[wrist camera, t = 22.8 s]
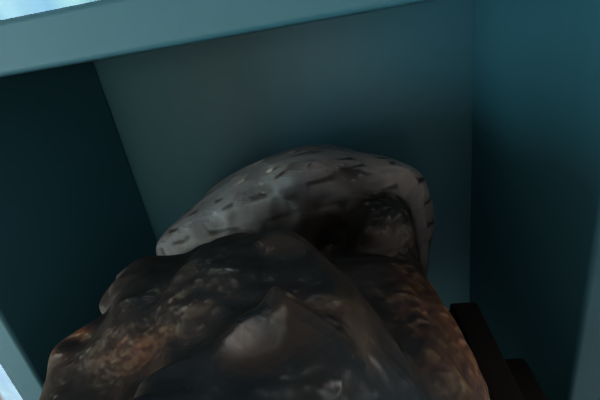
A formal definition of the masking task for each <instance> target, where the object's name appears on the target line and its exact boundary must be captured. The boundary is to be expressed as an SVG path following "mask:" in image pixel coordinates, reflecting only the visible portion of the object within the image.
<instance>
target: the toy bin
mask: <svg viewBox="0 0 600 400" xmlns="http://www.w3.org/2000/svg"><path fill="white" fill-rule="evenodd" d="M328 144H329V145H334V146H339V147H344V148H348V149H352V150H355V151H358V152H363V153H371V154H377V155H382V156H386V157H389V158H393V159H395V160H398V161H400V162H403V163H405V164H408V165H410V166H412V167H414V168H415V169H416V170H418V171H419V172H420V173H421V174H422V176H423V177H424V179H425V182H426V184H427V187H428V190H429V192H430V196H431V200H432V203H433V208H434V216H435V229H434V234H433V238H432V242H431V246H430V253H429V266H428V275H427V279H428V280H429V281H430V283H431V284H432V285H433V287H434V288H435V290H436V292H437V294H438V296H439V298H440V300H441V302H442V303H443V304H444V305H445V306H446V308H447V309H448V310H450V304H452V303H466V302H476V303H477V305H478V307H479V309H480V311H481V313H482V315H483V317H484V319H485V321H486V323H487V325H488V327H489V329H490V331H491V333H492V335H493V337H494V339H495V341H496V343H497V345H498V347H499V349H500V351H501V353H502V355H503V357H504V359H518V358H521V359H523V360H525V361H526V362H527V364H528V365H529V367H530V368H531V370H532V372H533V374H534V376H535V377H536V379H537V381H538V383H539V385H540V386H541V388H542V390H543V392H544V394H545V395H546V397H547V399H548V400H600V0H100V1H95V2H90V3H85V4H80V5H75V6H70V7H65V8H60V9H55V10H50V11H45V12H40V13H35V14H30V15H25V16H20V17H15V18H10V19H5V20H0V364H1V365H2V367H3V369H4V370H5V372H6V373H7V375H8V377H9V378H10V380H11V381H12V383H13V384H14V386H15V388H16V389H17V391H18V392H19V394H20V396H21V397H22V399H23V400H39V399H40V396H41V393H42V390H43V386H44V383H45V380H46V376H47V366H48V360H49V357H50V354H51V352H52V350H53V349H54V347H55V346H56V345H57V344H58V343H60V342H61V341H62V340H63V339H65V338H66V337H68V336H69V335H71V334H72V333H74V332H75V331H77V330H78V329H80V328H82V327H83V326H85V325H86V324H88V323H90V322H91V321H93V320H95V319H97V318H98V317H100V316H101V315H102V313H101V311H100V308H99V304H100V301H101V299H102V297H103V295H104V293H105V292H106V290H107V289H108V288H109V286H110V285H111V284H112V283H113V282H114V281H115V280H116V277H117V275H118V274H119V273H120V272H121V271H122V270H123V269H125V268H126V267H128V266H129V265H130V264H131V263H132V262H134V261H135V260H137V259H140V258H143V257H147V256H156V255H157V254H156V245H157V243H158V241H159V239H160V238H161V237H162V235H163V234H164V233H165V232H166V231H167V229H168V228H169V227H170V226H171V225H172V224H174V223H175V222H176V221H177V220H178V219H179V218H180V217H181V216H182V215H183V214H185V213H186V212H187V211H188V210H189V209H191V208H192V207H193V206H194V205H196V204H197V203H198V202H199V201H201V200H202V199H203V198H204V196H205V195H206V193H207V192H208V191H209V189H211V188H212V187H214V186H215V185H216V184H218V183H219V182H220V181H222V180H223V179H225V178H226V177H228V176H230V175H231V174H233V173H235V172H237V171H239V170H240V169H242V168H244V167H246V166H248V165H251V164H253V163H255V162H257V161H260V160H262V159H264V158H267V157H269V156H272V155H275V154H277V153H280V152H282V151H285V150H288V149H292V148H296V147H301V146H305V145H328Z"/></svg>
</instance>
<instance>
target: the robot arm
mask: <svg viewBox="0 0 600 400" xmlns="http://www.w3.org/2000/svg"><path fill="white" fill-rule="evenodd" d="M448 311H449V312H450V314H451V315H452V317H453V318H454V320H455V321H456V323H457V325H458V326H459V328H460V330H461V332H462V334H463V336H464V338H465V341H466V342H467V344H468V345H469V347H470V349H471V351H472V352H473V354H474V357H475V359H476V361H477V364H478V367H479V369H480V372H481V374H482V376H483V378H484V380H485V382H486V384H487V387H488V391H489V396H490V400H548V399H547V397H546V395H545V394H544V392H543V390H542V388H541V386H540V385H539V383H538V381H537V379H536V377H535V376H534V374H533V372H532V370H531V368H530V367H529V365H528V364H527V362H526V361H525V360H523V359H521V358H518V359H504V357H503V355H502V353H501V351H500V349H499V347H498V345H497V343H496V341H495V339H494V337H493V335H492V333H491V331H490V329H489V327H488V325H487V323H486V321H485V319H484V317H483V315H482V313H481V311H480V309H479V307H478V305H477V303H476V302H466V303H452V304H450V310H448Z"/></svg>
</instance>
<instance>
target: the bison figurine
mask: <svg viewBox="0 0 600 400" xmlns="http://www.w3.org/2000/svg"><path fill="white" fill-rule="evenodd" d="M434 229H435V216H434V208H433V203H432V200H431V196H430V192H429V190H428V187H427V184H426V182H425V179H424V177H423V176H422V174H421V173H420V172H419V171H418V170H416V169H415V168H414V167H412V166H410V165H408V164H405V163H403V162H400V161H398V160H395V159H393V158H389V157H386V156H382V155H377V154H371V153H363V152H358V151H355V150H352V149H348V148H344V147H339V146H334V145H329V144H328V145H305V146H301V147H296V148H292V149H288V150H285V151H282V152H280V153H277V154H275V155H272V156H269V157H267V158H264V159H262V160H260V161H257V162H255V163H253V164H251V165H248V166H246V167H244V168H242V169H240V170H239V171H237V172H235V173H233V174H231V175H230V176H228V177H226V178H225V179H223V180H222V181H220V182H219V183H218V184H216V185H215V186H214V187H212V188H211V189H209V191H208V192H207V193H206V195H205V196H204V198H203V199H202V200H201V201H199V202H198V203H197V204H196V205H194V206H193V207H192V208H191V209H189V210H188V211H187V212H186V213H185V214H183V215H182V216H181V217H180V218H179V219H178V220H177V221H176V222H175V223H174V224H172V225H171V226H170V227H169V228H168V229H167V231H166V232H165V233H164V234H163V235H162V237H161V238H160V239H159V241H158V243H157V245H156V254H157V255H156V256H147V257H143V258H140V259H137V260H135V261H134V262H132V263H131V264H130V265H129V266H128V267H126V268H125V269H123V270H122V271H121V272H120V273H119V274H118V275H117V277H116V280H115V281H114V282H113V283H112V284H111V285H110V286H109V288H108V289H107V290H106V292H105V293H104V295H103V297H102V299H101V301H100V304H99V308H100V311H101V313H102V315H101V316H100V317H98V318H97V319H95V320H93V321H91V322H90V323H88V324H86V325H85V326H83V327H82V328H80V329H78V330H77V331H75V332H74V333H72V334H71V335H69V336H68V337H66V338H65V339H63V340H62V341H61V342H60V343H58V344H57V345H56V346H55V347H54V349H53V350H52V352H51V354H50V357H49V360H48V366H47V376H46V380H45V383H44V386H43V390H42V393H41V396H40V399H39V400H490V396H489V391H488V387H487V384H486V382H485V380H484V378H483V376H482V374H481V372H480V369H479V367H478V364H477V361H476V359H475V357H474V354H473V352H472V351H471V349H470V347H469V345H468V344H467V342H466V341H465V338H464V336H463V334H462V332H461V330H460V328H459V326H458V325H457V323H456V321H455V320H454V318H453V317H452V315H451V314H450V312H449V311H448V309H447V308H446V306H445V305H444V304H443V303H442V302H441V300H440V298H439V296H438V294H437V292H436V290H435V288H434V287H433V285H432V284H431V283H430V281H429V280H428V279H427V275H428V266H429V253H430V246H431V242H432V238H433V234H434Z"/></svg>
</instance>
